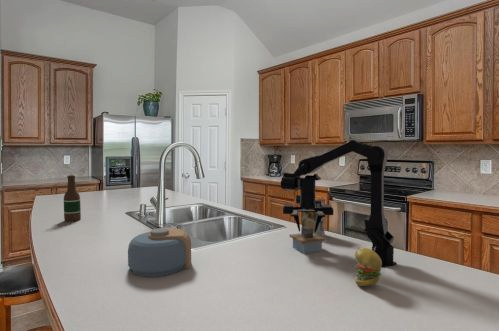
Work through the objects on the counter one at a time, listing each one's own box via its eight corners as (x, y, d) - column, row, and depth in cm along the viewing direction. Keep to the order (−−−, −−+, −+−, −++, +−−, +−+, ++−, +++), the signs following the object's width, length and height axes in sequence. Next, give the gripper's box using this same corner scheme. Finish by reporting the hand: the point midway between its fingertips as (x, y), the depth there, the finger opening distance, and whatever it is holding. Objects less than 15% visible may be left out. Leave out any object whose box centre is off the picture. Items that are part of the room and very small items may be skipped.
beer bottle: (64, 219, 173) (63, 175, 171) (81, 218, 176) (79, 174, 174) (63, 222, 165) (61, 176, 164) (80, 221, 169) (79, 175, 167)
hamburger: (359, 278, 96) (360, 239, 95) (384, 285, 92) (386, 243, 91) (349, 287, 90) (350, 245, 89) (376, 294, 86) (377, 250, 85)
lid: (325, 241, 120) (325, 229, 120) (302, 243, 117) (302, 232, 117) (311, 234, 130) (311, 223, 129) (289, 236, 126) (289, 225, 126)
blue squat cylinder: (201, 266, 106) (201, 230, 105) (142, 283, 92) (141, 242, 92) (173, 252, 120) (173, 220, 119) (119, 265, 107) (118, 229, 106)
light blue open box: (321, 250, 121) (321, 240, 121) (303, 253, 118) (304, 242, 118) (309, 244, 129) (309, 235, 129) (292, 247, 126) (292, 237, 125)
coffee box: (325, 234, 144) (325, 199, 143) (321, 238, 138) (321, 201, 137) (305, 232, 148) (305, 197, 147) (301, 235, 142) (301, 199, 141)
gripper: (329, 189, 129) (329, 227, 130) (283, 188, 131) (283, 225, 132) (333, 193, 118) (333, 234, 119) (283, 192, 120) (282, 233, 121)
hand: (307, 231), depth 123 cm, fingers open, 6 cm apart
